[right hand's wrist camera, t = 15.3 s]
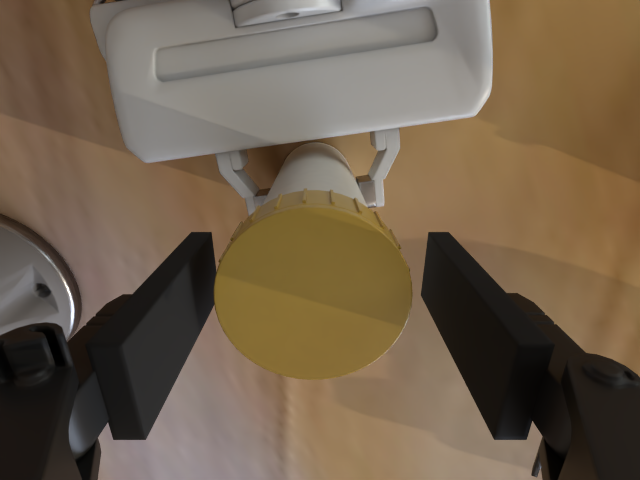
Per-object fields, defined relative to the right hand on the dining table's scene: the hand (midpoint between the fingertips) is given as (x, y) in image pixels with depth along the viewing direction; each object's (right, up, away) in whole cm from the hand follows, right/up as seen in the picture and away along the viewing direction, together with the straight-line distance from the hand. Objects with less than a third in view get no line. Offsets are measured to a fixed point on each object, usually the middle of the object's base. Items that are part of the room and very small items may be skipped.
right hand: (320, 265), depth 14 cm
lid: (0, -1, -2) cm, 2 cm away
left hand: (0, +3, +9) cm, 10 cm away
